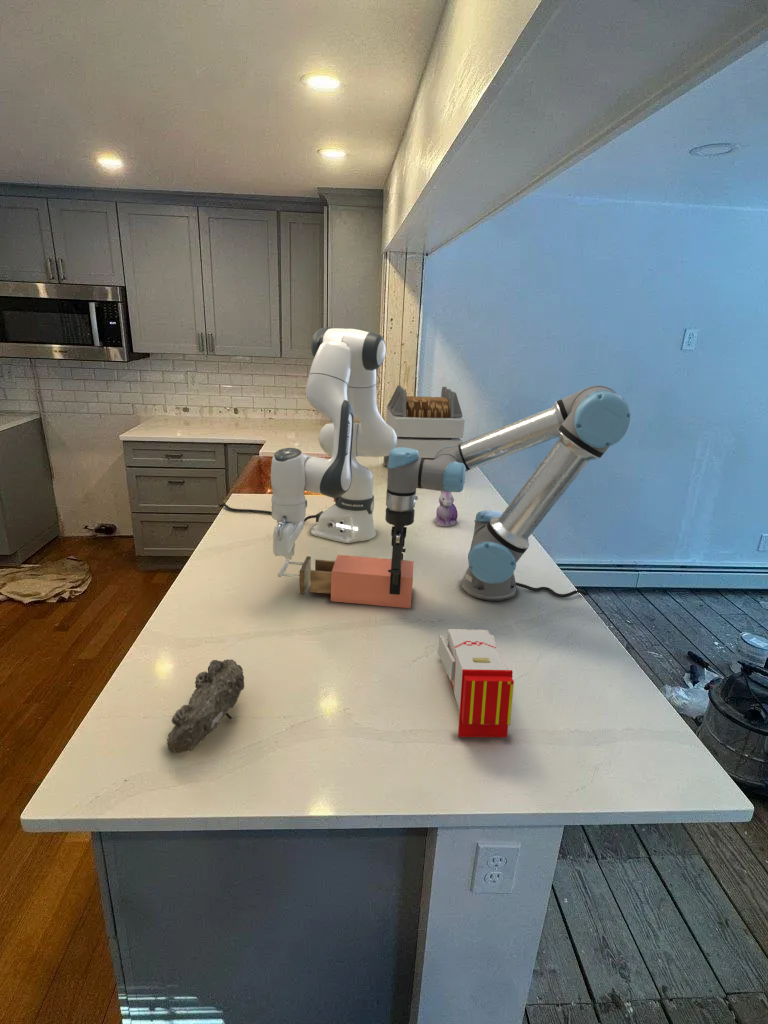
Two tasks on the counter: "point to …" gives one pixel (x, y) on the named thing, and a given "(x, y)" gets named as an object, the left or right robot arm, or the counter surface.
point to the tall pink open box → (369, 581)
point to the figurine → (446, 510)
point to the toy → (478, 682)
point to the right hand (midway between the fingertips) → (395, 583)
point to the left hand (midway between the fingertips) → (289, 557)
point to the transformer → (425, 422)
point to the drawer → (312, 575)
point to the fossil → (206, 705)
